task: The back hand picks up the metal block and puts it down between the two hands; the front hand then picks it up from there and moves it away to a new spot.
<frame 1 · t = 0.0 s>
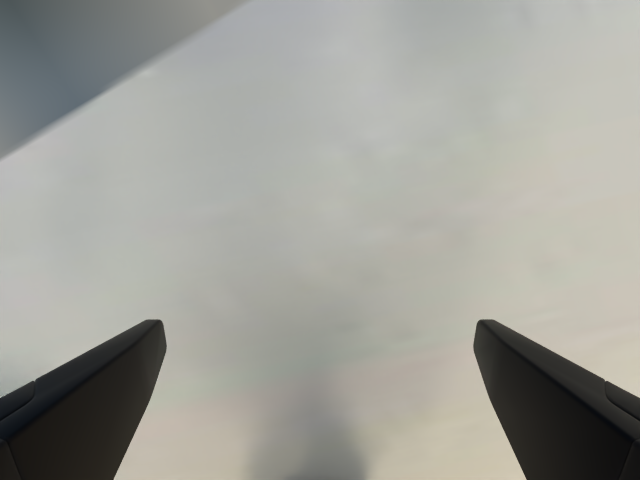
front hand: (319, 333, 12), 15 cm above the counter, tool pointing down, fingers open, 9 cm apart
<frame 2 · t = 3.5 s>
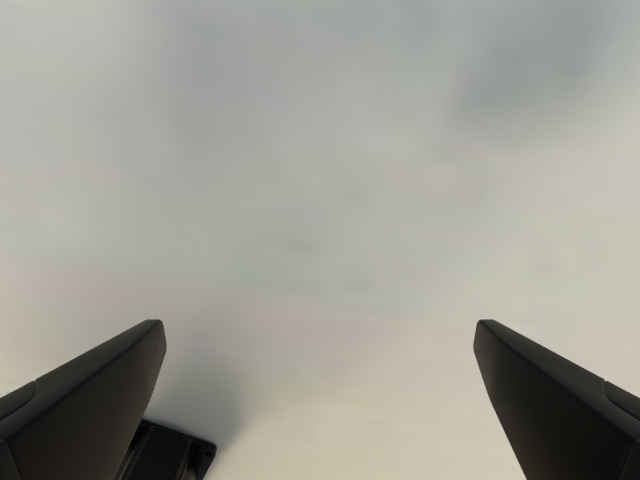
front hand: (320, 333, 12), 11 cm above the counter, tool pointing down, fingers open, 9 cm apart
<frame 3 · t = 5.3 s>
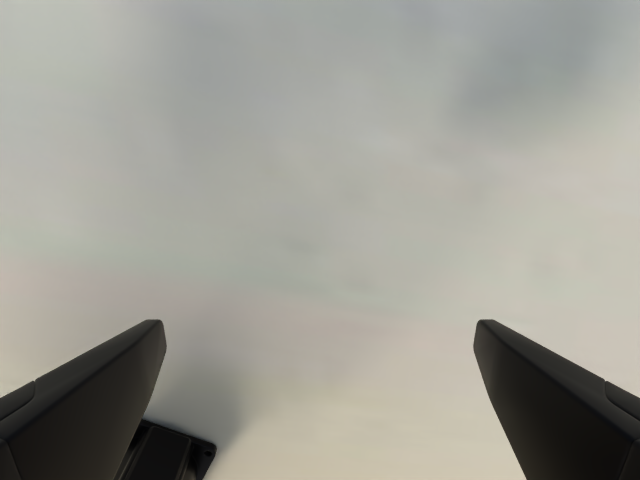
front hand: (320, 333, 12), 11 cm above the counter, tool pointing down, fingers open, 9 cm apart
when the back hand's fingers open (3 cm above the counter, at t = 7.5 s): block drops 1 cm, on the counter.
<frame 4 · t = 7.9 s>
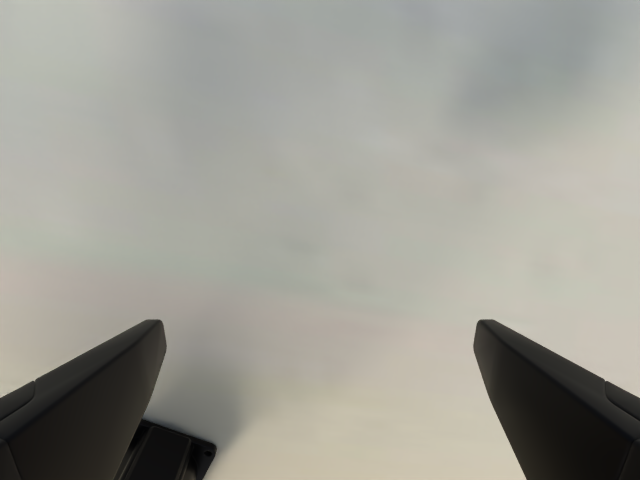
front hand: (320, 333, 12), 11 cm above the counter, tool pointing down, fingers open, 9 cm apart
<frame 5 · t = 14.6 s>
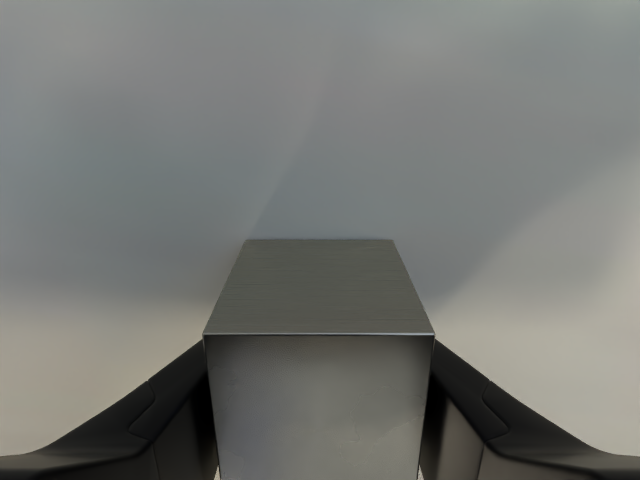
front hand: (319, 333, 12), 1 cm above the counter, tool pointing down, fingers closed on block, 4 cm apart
block: (319, 308, 13), on the counter, touching front hand
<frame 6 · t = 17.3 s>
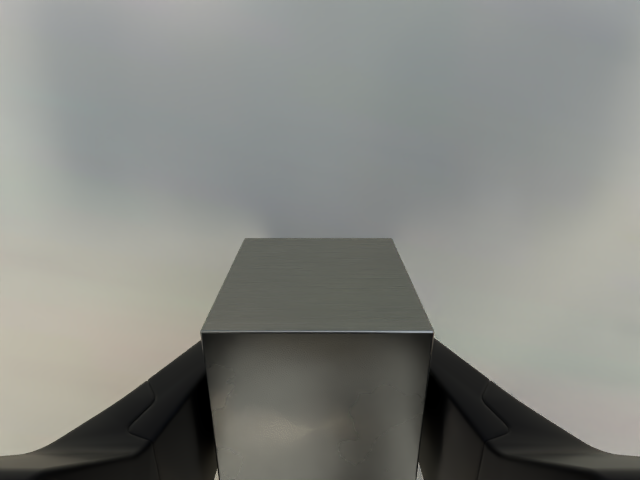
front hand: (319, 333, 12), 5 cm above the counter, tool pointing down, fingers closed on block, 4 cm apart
block: (318, 307, 13), point 3 cm above the counter, touching front hand
when the front hand's fingers open (2 cm above the counter, at t = 20.0 s): block drops 1 cm, on the counter.
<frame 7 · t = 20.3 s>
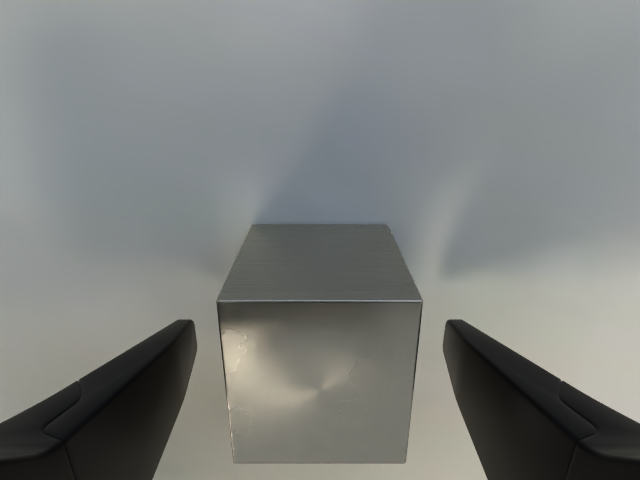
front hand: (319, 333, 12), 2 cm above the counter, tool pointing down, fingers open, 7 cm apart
block: (319, 289, 14), on the counter
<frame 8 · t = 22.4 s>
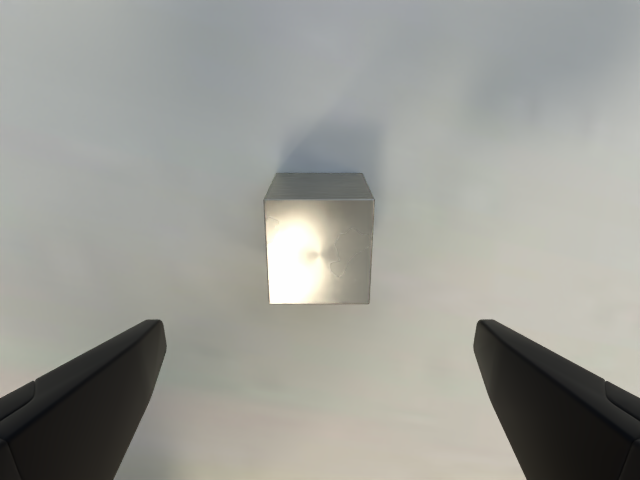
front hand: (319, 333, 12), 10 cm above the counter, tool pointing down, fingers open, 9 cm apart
block: (319, 217, 21), on the counter
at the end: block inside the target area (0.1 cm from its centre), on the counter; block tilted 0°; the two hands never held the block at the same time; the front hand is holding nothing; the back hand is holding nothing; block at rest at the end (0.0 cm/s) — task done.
